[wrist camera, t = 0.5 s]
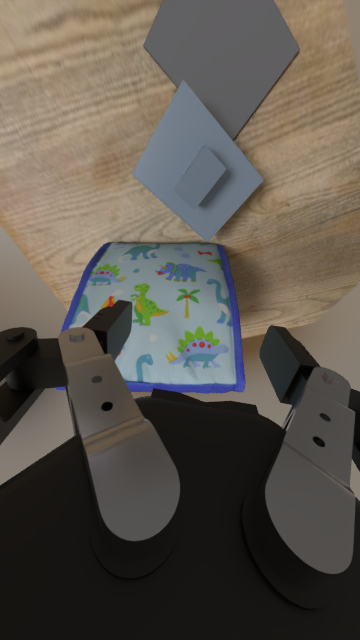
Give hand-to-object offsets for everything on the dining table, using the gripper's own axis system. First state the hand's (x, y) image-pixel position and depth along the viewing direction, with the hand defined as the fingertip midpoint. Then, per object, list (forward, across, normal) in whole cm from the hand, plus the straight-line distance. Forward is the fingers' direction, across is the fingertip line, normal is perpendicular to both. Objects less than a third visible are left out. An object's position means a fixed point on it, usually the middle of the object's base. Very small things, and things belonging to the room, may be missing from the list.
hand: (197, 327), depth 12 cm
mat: (+25, +2, -23) cm, 34 cm away
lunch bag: (+31, +6, +6) cm, 32 cm away
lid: (+22, +2, -10) cm, 24 cm away
